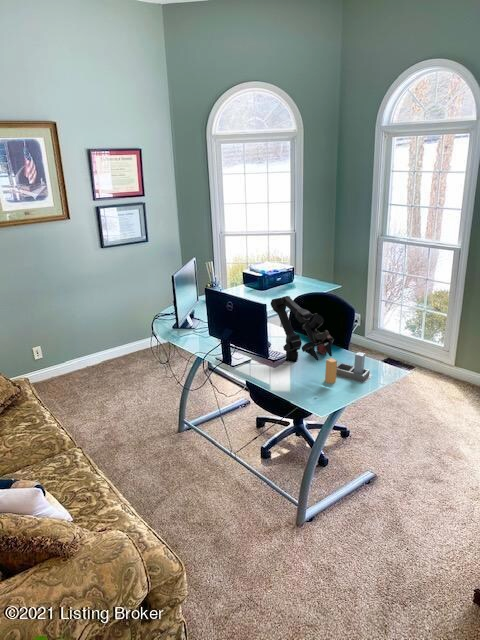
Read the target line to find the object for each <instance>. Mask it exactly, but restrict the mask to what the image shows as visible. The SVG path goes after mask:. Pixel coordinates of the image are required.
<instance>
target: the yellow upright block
mask: <svg viewBox="0 0 480 640" xmlns="http://www.w3.org/2000/svg"><path fill="white" fill-rule="evenodd" d="M337 365H338V360H336V359H335V358H333V357H330V358H327V359H326V360H325V373H324V374H325V375H324V377H325V378H324V381H325V383H328V384H334V383H336V381H337V376H336V372H337Z"/></svg>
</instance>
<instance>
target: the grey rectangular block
mask: <svg viewBox="0 0 480 640" xmlns="http://www.w3.org/2000/svg"><path fill="white" fill-rule="evenodd" d="M365 359H366V353H365V352H360V351H359V352H358V351H357V352H356V353H355V354H354V364H353V366H354V373H357V374H360V375H363V372H364V369H365Z"/></svg>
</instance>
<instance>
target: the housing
mask: <svg viewBox="0 0 480 640" xmlns="http://www.w3.org/2000/svg"><path fill="white" fill-rule="evenodd" d="M370 371H371V370H370V369H369V368H364V372H363V375H360V374H357V373H354V365H353V364H352V365H351V364H347V363H344V362H339V363H337V372H336V377H341V378H344V379H348V380H351V381H355V382H359V383H362V384H366V383H367V382H368V381H369V379H370V378H372V377H373V374H372V373H370Z"/></svg>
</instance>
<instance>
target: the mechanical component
mask: <svg viewBox="0 0 480 640" xmlns="http://www.w3.org/2000/svg"><path fill="white" fill-rule="evenodd" d="M327 337H331V334H329V336H327ZM324 339H326V338H324ZM324 339H323V340H324ZM323 340H322V341H323ZM319 344H320V343H319ZM316 351H317V352H316V353H320V354H321V355H322V356H324V355H325V353H327V351H326V350H325V348H324V345H323V344H322V345H319V346H316Z"/></svg>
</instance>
